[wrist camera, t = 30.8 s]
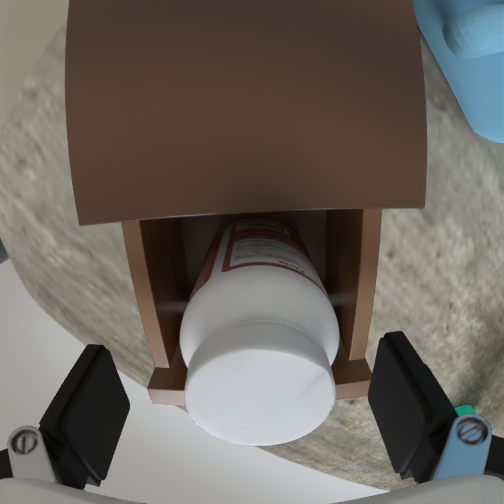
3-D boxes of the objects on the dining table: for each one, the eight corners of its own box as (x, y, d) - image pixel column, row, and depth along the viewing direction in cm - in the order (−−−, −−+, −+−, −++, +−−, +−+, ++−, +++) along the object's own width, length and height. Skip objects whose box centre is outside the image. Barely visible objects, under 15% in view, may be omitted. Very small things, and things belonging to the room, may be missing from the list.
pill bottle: (243, 324, 21) (234, 472, 10) (186, 251, 19) (117, 378, 8) (326, 278, 19) (385, 414, 9) (274, 194, 18) (301, 280, 7)
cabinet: (351, 174, 19) (425, 208, 10) (153, 184, 19) (78, 226, 10) (336, -17, 14) (384, -95, 5) (145, -5, 15) (82, -73, 6)
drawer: (334, 367, 23) (356, 444, 16) (190, 373, 24) (171, 451, 16) (345, 133, 17) (402, 134, 10) (154, 144, 18) (93, 152, 10)
